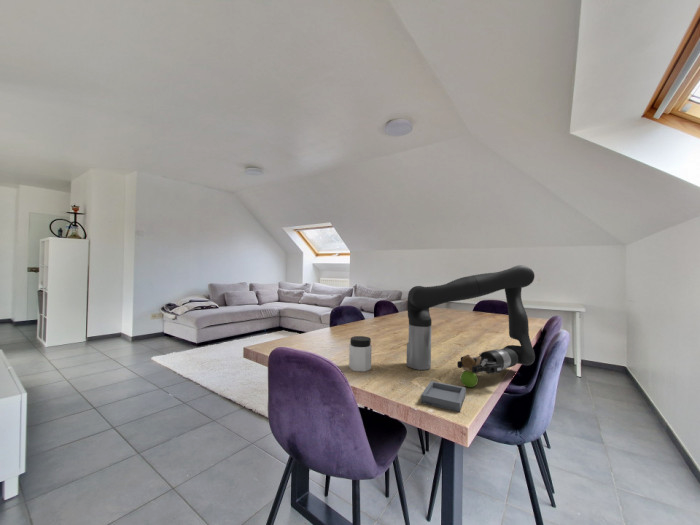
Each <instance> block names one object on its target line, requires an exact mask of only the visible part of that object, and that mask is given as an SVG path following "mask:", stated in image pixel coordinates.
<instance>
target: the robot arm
mask: <svg viewBox="0 0 700 525" xmlns="http://www.w3.org/2000/svg"><path fill="white" fill-rule="evenodd" d="M534 280H535V272H534V271H533V270H532V268H530V267H529V266H526V265H515V266H512V267H511V268H507V269H504V270H500V271H497V272H496V271H494V272H488V273H487V272H486V273H480V274H473V275H469V276H463V277H459V278H457V279H455V280H452V281H450V282H448V283H444V284H441V285H440V284H439V285H434V286H433V285H431V286H422V285H415V286H413V287H412V288H411V289H409V291H408V294H407V318H408V340H407V343H406V363H405V364H406V367H408V368H411V369H413V370H418V371H419V370H420V371H425V370H431V368H432V322H433V320H432V317H431V314H430V308H432V307H436V306H439V305H442V304H445V303H453V302H458V301H460V302H461V301H466V300H471V299H475V298H480V297H484V296H488V295H490V294H494V293H496V292H498V291H502V290H504V293H505V300H506V304H507V312H508V336H509V338H510V339H513V340H516V341H518V343H519V344H520V345H518V344H516V345H514V344H510V345H506V346H504V347H503V348H500V349H491V350H486V351H482V352H480V353H481V355H479V357H481V360H480V364H479V365H476V366H473V367H472V373H475V374H478V373H482V374H483V373H486V374H488V375H491V374H492V375H493V374H500V373H502V371H504V370H506V369H508V368H513V367H515V366H516V365H517V364H520V365H526V366H531V365H533V363H535V359H536V353H535V350H534V348H533V345H532V342H531V339H530V332H529V317H528V315H527V312H526V309H525V306H524V304H523V301H522V288H525V287H529V286H531V284H533V282H534ZM465 356H470V357H472V356H471V355H469V354H467V355H466V354H465V355H463V356H461V357H460V360H459V361H457V363H456V365H457V368H458V369H463V368H462V366H463V364H462V359H463V357H465ZM477 357H478V356H473V357H472V358H473V359H474V360H475V363H476V361H477V359H476V358H477ZM463 367H464V366H463Z"/></svg>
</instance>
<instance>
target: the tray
mask: <svg viewBox="0 0 700 525" xmlns="http://www.w3.org/2000/svg"><path fill="white" fill-rule="evenodd" d="M466 389H467V387H466V386H465V387H464V386H460V385H459V386H458V385H454V384H450V383H444V382H439V381H434V380H430V382H429V383H428V384H427V385H426V387H425V389H424V390H423V391H422V393H421V395H420V404H423V405H427V406H432V407H436V408H441V409H444V410H448V411H449V410H450V411H453V412H457V413H460V412H461V410H462V406H463V404H464V401H465V399H466V395H467V390H466Z"/></svg>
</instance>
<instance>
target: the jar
mask: <svg viewBox="0 0 700 525" xmlns="http://www.w3.org/2000/svg"><path fill="white" fill-rule="evenodd" d="M371 340H372V339H371V338H370V337H369V336H365V335H364V336H363V335H362V336H361V335H358V336H357V335H354V336H351V337H350V341H349V342H350V344H349V347H348V351H349V353H348V368H349V369H351V370H352V371H353V372H360V373H361V372H367V371H369V370H372V353H373V352H372V349H373V348H372V345H371V343H372V342H371Z"/></svg>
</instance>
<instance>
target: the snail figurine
mask: <svg viewBox="0 0 700 525" xmlns="http://www.w3.org/2000/svg"><path fill="white" fill-rule="evenodd" d="M481 353H482V352H479V354H478V355H479V356H480V355H481ZM464 356H465V357H463V356H462V357H463V359H462V364H463V366H464V367H463V366H462V368H461V369H463V370H464V371H463V372H462V373H461V375H460V381H461V384H463V385H464V386H465V387H466V388H474V387H475V386H476V385H477V384H478V382H479V381H478V376H477V373H472V367H473V366H476V365H479V364H480V360H481V357H479V356H478V357H477V356H476V357H477V358H476V359H477V361H476V363H475V360H474V359H473V358H472V356H471V355H470V356H466V355H464Z"/></svg>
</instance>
